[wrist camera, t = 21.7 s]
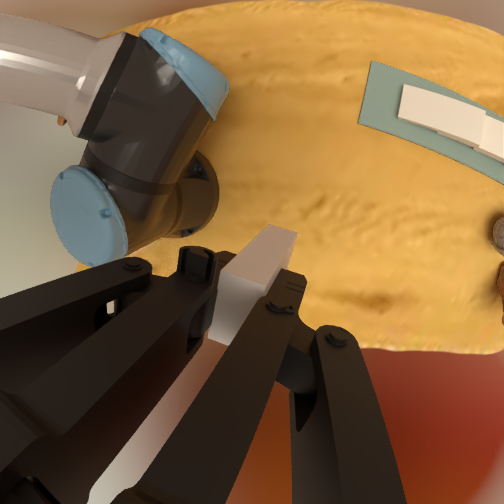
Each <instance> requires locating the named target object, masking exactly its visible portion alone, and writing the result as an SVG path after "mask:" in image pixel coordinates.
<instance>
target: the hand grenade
mask: <svg viewBox="0 0 504 504" xmlns="http://www.w3.org/2000/svg"><path fill="white" fill-rule="evenodd" d="M493 239H494V242H495V245H496V246H495V245H494V243H493V242H492V241H491V240H490V242H491V244H492V245H493V247H494V248H495V249H496V250H497V251H498V252H499V253H500V254H501V255H503V256H504V217H501V218H500V219H499V220H497V221H496V224H494V227H493Z"/></svg>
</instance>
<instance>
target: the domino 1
mask: <svg viewBox="0 0 504 504" xmlns="http://www.w3.org/2000/svg"><path fill="white" fill-rule="evenodd" d="M485 114H486V111H485V110H482V109H480V108H477V107H475V106H472V105H470V104H467V103H464V102H461V101H459V100H456V99H453V98H450V97H447V96H444V95H441V94H438V93H434V92H431V91H428V90H424V89H421V88H417V87H414V86H410V85H406V84H404V86H403V92H402V98H401V103H400V108H399V114H398V118H399V120H403V121H406V122H410V123H413V124H416V125H419V126H422V127H426V128H429V129H432V130H435V131H437V132H440V133H443V134H446V135H449V136H451V137H454V138H457V139H459V140H462V141H465V142H467V143H470V144H472V145H474V146H477V147H479V146H480V144H481V139H482V133H483V127H484V121H485Z"/></svg>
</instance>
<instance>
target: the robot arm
mask: <svg viewBox="0 0 504 504" xmlns="http://www.w3.org/2000/svg"><path fill="white" fill-rule="evenodd" d="M139 36H140V37H136V36H134V35H131V34H129V33H126V32H120V33H118V34H115V35H112V36H110V37H107V38H103V39H99V38H96V37H93V36H90V35H87V34H83V33H81V32H77V31H74V30H71V29H67V28H64V27H60V26H56V25H53V24H49V23H45V22H41V21H37V20H32V19H27V18H23V17H18V16H13V15H7V14H2V13H0V101H3V102H7V103H11V104H15V105H20V106H24V107H28V108H32V109H36V110H39V111H43V112H47V113H50V114H54V115H58V116H61V117H64V118H65V119H66V120H67V121H68V124H69V126H70V128H71V131H72V133H73V135H74V136H75V137H78V138H82V139H85V140H88V143H87V146H86V148H85V151H84V154H83V156H82V159H81V162H80V164H79V165H72V166H69V167H68V168H67V169H66V170H65V171H63V172H61V173H60V174H59V175H58V176H57V177H56V179H55V181H54V183H53V186H52V190H51V198H50V206H51V214H52V219H53V223H54V226H55V228H56V231H57V234H58V236H59V238H60V240H61V242H62V243H63V245H64V247H65V248H66V249H67V250H68V252H69V253H70V254H71V255H72V256H73V257H74V258H75V259H77V260H78V261H79V262H81V263H83V264H85V265H87V266H91V267H92V268H89V269H86V270H83V271H80V272H77V273H74V274H71V275H68V276H65V277H62V278H59V279H56V280H53V281H50V282H47V283H44V284H41V285H38V286H35V287H32V288H29V289H26V290H23V291H20V292H17V293H15V294H12V295H9V296H6V297H3V298H0V504H87V502H88V499H89V493H90V490H91V488H92V486H93V485H94V484H95V482H96V481H97V480H98V479H99V477H100V476H101V475H102V474H103V472H104V471H105V470H106V469H107V467H108V466H109V464H110V463H111V462H112V461H113V460H114V458H115V457H116V456H117V455H118V453H119V452H120V451H121V450H122V448H123V447H124V446H125V444H126V443H127V442H128V441H129V439H130V438H131V437H132V436H133V434H134V433H135V432H136V430H137V429H138V428H139V426H140V425H141V424H142V422H143V421H144V420H145V419H146V418H147V416H148V415H149V414H150V412H151V411H152V410H153V408H154V407H155V406H156V405H157V403H158V402H159V401H160V399H161V398H162V397H163V396H164V394H165V393H166V392H167V390H168V389H169V388H170V386H171V385H172V384H173V382H174V381H175V380H176V378H177V377H178V376H179V374H180V373H181V372H182V371H183V369H184V368H185V367H186V365H187V364H188V363H189V361H190V360H191V359H192V358H193V356H194V355H195V354H196V352H197V351H198V349H199V348H200V347H201V345H202V343H203V339H204V333H205V332H206V331H207V329H208V328H209V327H210V329H209V334H208V338H210V339H212V340H215V341H217V342H220V343H222V344H225V345H228V348H227V350H226V351H225V353H224V355H223V356H222V357H221V359H220V361H219V362H218V364H217V365H216V367H215V369H214V370H213V372H212V373H211V375H210V376H209V378H208V379H207V381H206V382H205V384H204V385H203V387H202V388H201V390H200V391H199V393H198V395H197V396H196V398H195V399H194V401H193V402H192V404H191V405H190V407H189V408H188V410H187V411H186V413H185V414H184V416H183V417H182V419H181V420H180V422H179V424H178V425H177V426H176V428H175V429H174V431H173V432H172V434H171V435H170V437H169V438H168V440H167V441H166V443H165V444H164V446H163V447H162V448H161V450H160V451H159V453H158V454H157V456H156V457H155V459H154V460H153V462H152V463H151V464H150V466H149V467H148V469H147V470H146V472H145V473H144V474H143V476H142V477H141V479H140V480H139V481H138V482H137V484H136V485H134V486H133V487H131V488H128V489H124V490H123V491H122V492H121V493H119V494H118V495H117V496H116V497H115V498H114V500H113V501H112V502H111V503H110V504H225V503H226V500H227V498H228V496H229V494H230V492H231V489H232V487H233V485H234V483H235V480H236V478H237V476H238V474H239V471H240V469H241V467H242V464H243V462H244V459H245V457H246V455H247V452H248V450H249V447H250V445H251V442H252V440H253V437H254V435H255V432H256V430H257V427H258V425H259V422H260V419H261V417H262V415H263V412H264V409H265V407H266V404H267V401H268V399H269V396H270V393H271V390H272V388H273V385H274V382H275V380H276V381H277V382H279V383H280V384H282V385H284V386H285V387H287V388H288V389H290V393H289V407H290V432H291V462H292V504H407V502H406V498H405V494H404V490H403V486H402V482H401V478H400V474H399V471H398V467H397V463H396V460H395V456H394V452H393V449H392V446H391V442H390V439H389V436H388V432H387V429H386V425H385V422H384V419H383V416H382V412H381V409H380V406H379V403H378V400H377V397H376V394H375V391H374V388H373V385H372V382H371V379H370V376H369V373H368V370H367V367H366V364H365V362H364V359H363V356H362V353H361V350H360V347H359V345H358V342H357V340H356V339H355V337H354V336H353V335H352V334H351V333H350V332H348V331H347V330H345V329H344V328H341V327H337V326H334V325H324V326H320V327H319V328H318V329H317V330H316V331H315V330H313V329H311V328H310V327H308V326H307V325H305V324H304V323H303V322H302V321H301V319H300V318H299V315H298V311H299V307H300V304H301V301H302V298H303V295H304V291H305V288H306V285H307V280H306V278H305V276H304V275H301V274H298V273H295V272H292V271H289V270H287V268H288V264H289V261H290V258H291V254H292V251H293V247H294V244H295V240H296V237H297V232H294V231H290V230H287V229H284V228H281V227H277V226H274V225H271V224H269V225H268V226H267V227H266V228H265V229H264V230H263V231H262V232H261V233H259V234H258V235H257V236H256V237H255V238H254V239H253V240H252V241H251V242H250V243H249V244H248V245H247V246H246V247H245V248H244V249H243V250H242V251H241V252H240V253H238V254H234V253H231V252H228V251H221V252H217V253H215V252H213V251H212V250H209V249H207V248H204V247H200V246H184V247H181V248H180V250H179V258H178V265H177V271H176V272H174V273H173V274H172V275H170V276H169V277H162V276H157V275H152V265H151V264H150V263H149V262H148V261H146V260H144V259H142V258H139V257H126V258H124V257H125V256H127V255H129V254H131V253H133V252H134V251H136V250H138V249H140V248H142V247H144V246H146V245H148V244H150V243H152V242H154V241H156V240H158V239H159V238H161V237H162V238H184V237H187V236H190V235H192V234H194V233H196V232H198V231H199V230H201V229H202V228H204V227H205V226H206V225H207V224H208V223H209V222H210V220H211V219H212V217H213V215H214V213H215V211H216V208H217V205H218V200H219V185H218V180H217V177H216V174H215V172H214V169H213V168H212V166H211V164H210V163H209V162H208V160H207V159H206V158H205V157H204V156H203V155H202V154H200V153H199V152H197V151H196V149H197V147H198V146H199V144H200V142H201V141H202V139H203V137H204V136H205V134H206V132H207V131H208V129H209V128H210V126H211V124H212V123H213V122H215V121H216V118H217V116H216V115H217V113H218V111H219V110H220V108H221V106H222V104H223V103H224V101H225V99H226V97H227V96H228V93H229V89H230V86H229V82H228V80H227V78H226V77H225V75H224V74H223V73H222V72H221V71H220V70H218V69H217V68H216V67H215V66H214V65H212V64H211V63H210V62H209V61H207V60H206V59H205V58H203V57H202V56H200V55H199V54H198V53H196V52H195V51H193V50H192V49H190V48H189V47H187V46H186V45H184V44H182V43H181V42H179V41H177V40H175V39H172V38H171V37H170V36H168V35H166V34H164V33H163V32H161V31H159V30H157V29H154V28H150V27H149V28H146V29H145V30H143V31H142V32H140V34H139ZM113 300H114V312H113V313H111V314H108V313H107V303H108V302H111V301H113Z"/></svg>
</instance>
